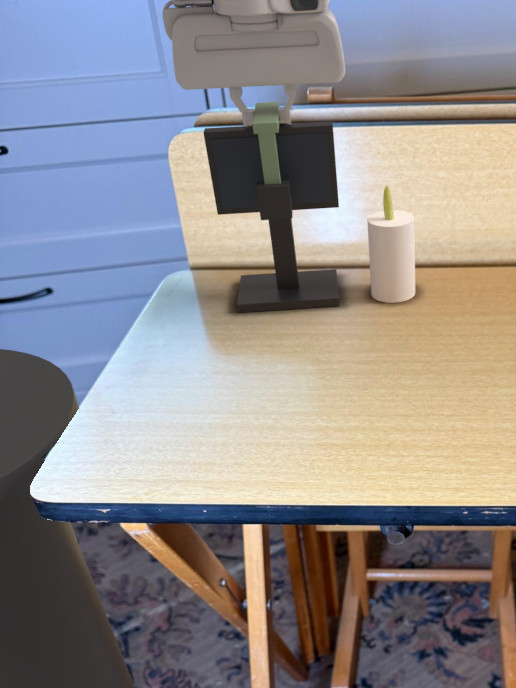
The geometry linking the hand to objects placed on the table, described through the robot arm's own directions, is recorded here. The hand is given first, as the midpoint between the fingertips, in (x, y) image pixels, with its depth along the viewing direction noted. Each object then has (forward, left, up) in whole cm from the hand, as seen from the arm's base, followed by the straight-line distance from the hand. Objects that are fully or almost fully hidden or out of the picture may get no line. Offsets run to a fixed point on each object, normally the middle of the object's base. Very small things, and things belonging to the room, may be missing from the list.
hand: (268, 125), depth 99 cm
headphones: (0, 0, -10) cm, 10 cm away
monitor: (0, 0, -22) cm, 22 cm away
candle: (+15, -2, -22) cm, 27 cm away
